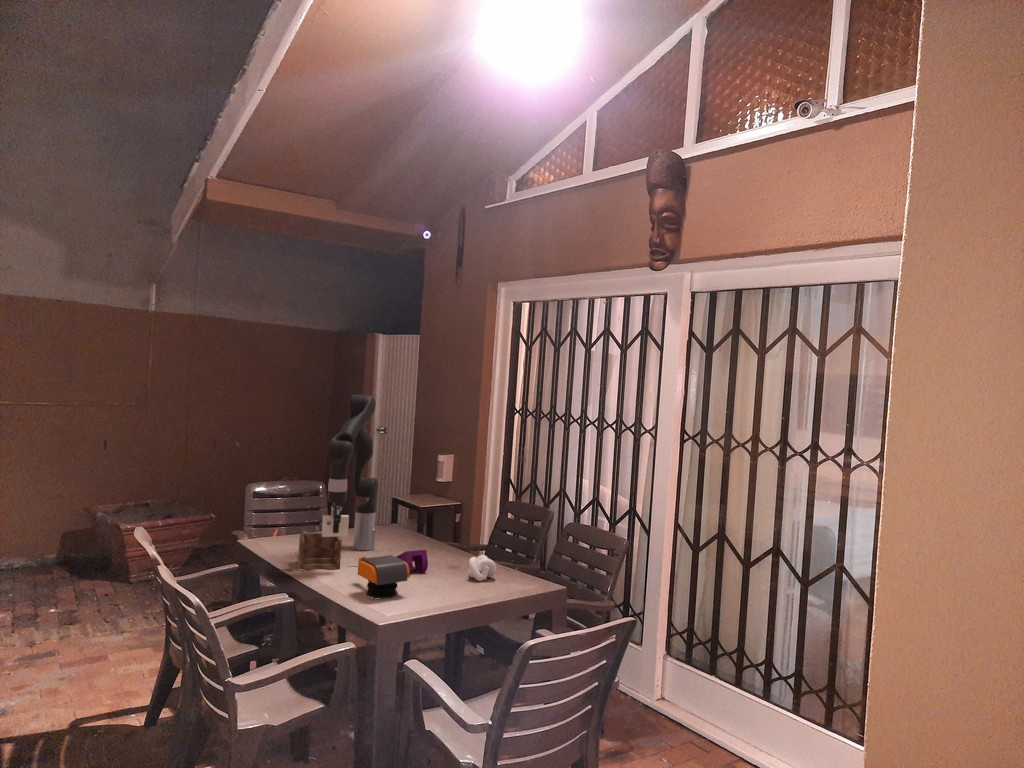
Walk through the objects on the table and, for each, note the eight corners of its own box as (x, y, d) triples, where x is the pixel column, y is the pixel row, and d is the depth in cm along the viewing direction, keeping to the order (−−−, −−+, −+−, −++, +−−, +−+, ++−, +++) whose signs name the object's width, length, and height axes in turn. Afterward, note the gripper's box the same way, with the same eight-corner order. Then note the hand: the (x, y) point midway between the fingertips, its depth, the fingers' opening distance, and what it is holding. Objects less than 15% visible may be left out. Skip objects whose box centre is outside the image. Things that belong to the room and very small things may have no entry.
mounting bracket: (391, 580, 295) (408, 572, 282) (388, 560, 298) (405, 551, 285) (411, 578, 300) (429, 569, 287) (409, 558, 303) (426, 549, 290)
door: (346, 534, 284) (348, 515, 284) (348, 536, 281) (349, 517, 281) (321, 535, 281) (322, 515, 281) (322, 537, 277) (323, 517, 277)
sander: (376, 579, 275) (378, 547, 275) (409, 596, 256) (411, 562, 256) (342, 584, 266) (344, 551, 266) (373, 602, 246) (375, 567, 246)
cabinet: (336, 560, 300) (338, 532, 300) (339, 569, 286) (341, 540, 286) (298, 561, 294) (299, 533, 294) (299, 570, 281) (301, 540, 281)
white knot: (483, 584, 277) (485, 562, 277) (459, 579, 283) (460, 557, 283) (498, 579, 286) (500, 557, 286) (474, 573, 293) (476, 552, 293)
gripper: (349, 492, 276) (346, 535, 276) (344, 486, 289) (342, 527, 289) (329, 492, 273) (327, 536, 273) (326, 486, 286) (324, 528, 287)
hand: (335, 531), depth 281 cm, fingers closed on door, 3 cm apart
